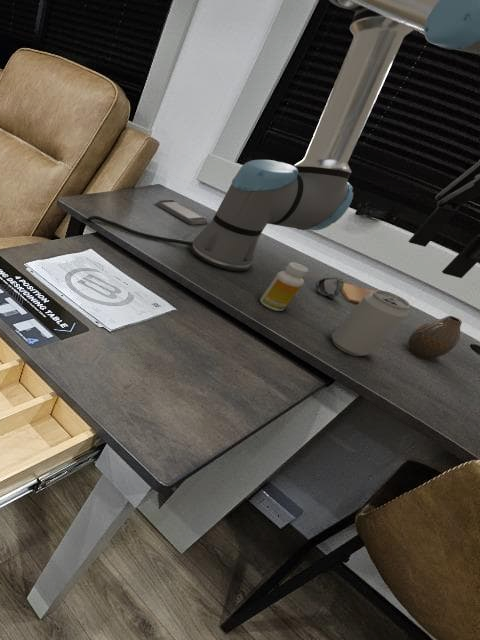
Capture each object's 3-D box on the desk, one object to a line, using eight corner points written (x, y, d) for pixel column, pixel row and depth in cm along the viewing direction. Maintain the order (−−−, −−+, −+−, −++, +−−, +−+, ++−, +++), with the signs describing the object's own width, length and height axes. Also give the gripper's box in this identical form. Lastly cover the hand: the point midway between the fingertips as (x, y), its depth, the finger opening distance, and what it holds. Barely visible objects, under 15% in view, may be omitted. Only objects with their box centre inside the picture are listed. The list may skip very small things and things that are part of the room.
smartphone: (193, 221, 133) (156, 200, 142) (191, 224, 133) (155, 204, 142) (209, 219, 136) (172, 199, 145) (207, 223, 137) (171, 203, 146)
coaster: (347, 300, 111) (349, 298, 111) (336, 282, 118) (337, 280, 118) (390, 312, 110) (392, 310, 109) (376, 293, 117) (378, 292, 117)
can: (324, 343, 93) (368, 293, 85) (332, 331, 98) (374, 283, 90) (364, 363, 90) (413, 313, 82) (370, 350, 94) (417, 301, 86)
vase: (438, 354, 98) (475, 321, 92) (438, 367, 93) (476, 333, 88) (402, 338, 100) (435, 305, 95) (400, 350, 96) (434, 316, 90)
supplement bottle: (287, 314, 101) (316, 275, 94) (263, 308, 101) (290, 269, 94) (279, 301, 105) (307, 263, 98) (256, 296, 105) (282, 258, 98)
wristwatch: (323, 298, 113) (320, 278, 113) (346, 294, 108) (343, 274, 108) (315, 300, 112) (312, 280, 112) (337, 297, 108) (334, 276, 107)
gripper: (653, 151, 56) (494, 297, 70) (531, 116, 74) (424, 238, 89) (586, 136, 57) (443, 283, 71) (481, 106, 75) (384, 228, 90)
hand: (432, 258), depth 80 cm, fingers open, 13 cm apart
